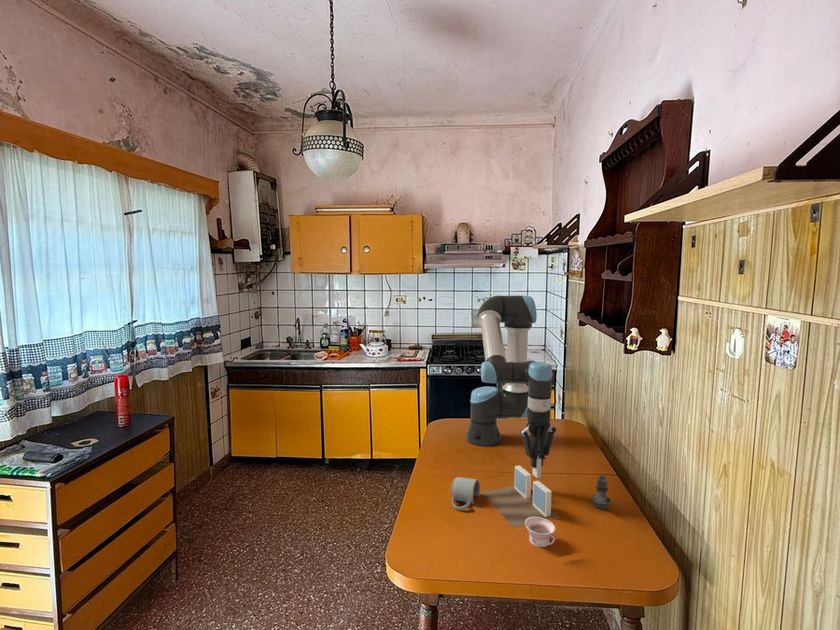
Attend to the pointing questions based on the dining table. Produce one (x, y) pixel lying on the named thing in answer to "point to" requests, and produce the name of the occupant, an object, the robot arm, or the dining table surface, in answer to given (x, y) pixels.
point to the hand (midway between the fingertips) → (536, 475)
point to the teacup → (540, 531)
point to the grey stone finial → (601, 494)
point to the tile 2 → (542, 498)
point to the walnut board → (514, 505)
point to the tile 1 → (522, 481)
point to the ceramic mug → (464, 491)
